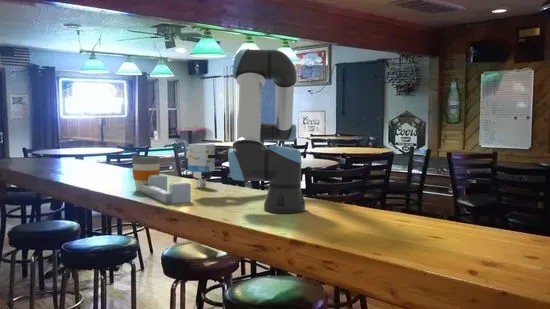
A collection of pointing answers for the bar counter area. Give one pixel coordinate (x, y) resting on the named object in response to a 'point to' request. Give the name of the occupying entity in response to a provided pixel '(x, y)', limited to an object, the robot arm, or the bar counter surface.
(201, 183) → the pneumatic valve
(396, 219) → the bar counter surface
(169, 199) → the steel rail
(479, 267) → the bar counter surface
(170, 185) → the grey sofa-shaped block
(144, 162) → the reusable coffee cup
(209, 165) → the ink box
